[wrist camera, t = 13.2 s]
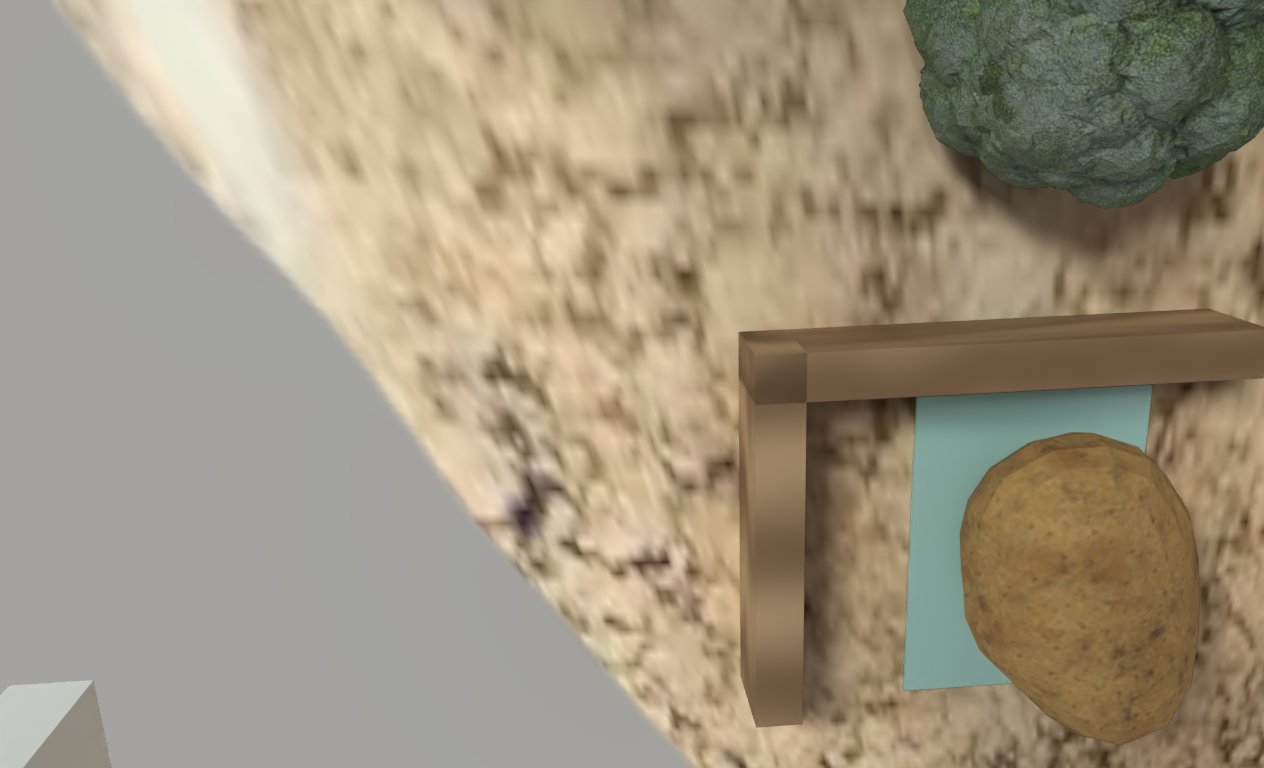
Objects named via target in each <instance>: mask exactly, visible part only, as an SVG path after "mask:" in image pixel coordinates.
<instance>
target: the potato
mask: <svg viewBox="0 0 1264 768" xmlns="http://www.w3.org/2000/svg"><path fill="white" fill-rule="evenodd" d="M960 562H961V574H962V583H963V592H964V610H965V618H966V621H967V623H968V625H969V628H970V630H971V632H972V635H973V637H974V639H975V642H976V644H977V646H978V648H979V651H980V652H981V653H982V654H983V655H984V656H985V657H986V658H987V659H988V660H989V661H991V662H992V663H993V664H994V665H995V666H996V667H997V668H998V669H999V670H1000V671H1001V672H1002V673H1003V674H1004V675H1005V676H1006V677H1007V678H1008V679H1009V680H1011V681H1012V682H1013V683H1014V684H1015V685H1016V686H1017V687H1018V688H1019V689H1020V690H1021V691H1022V692H1023V693H1024V694H1025V695H1026V696H1027V697H1028V698H1029V699H1030V700H1031V701H1032V702H1034V703H1035V704H1036V705H1037V706H1038V707H1039V708H1040V709H1041V710H1042V711H1043V712H1044V713H1045V714H1046V715H1047V716H1049V717H1051V718H1052V719H1054V720H1055V721H1057V722H1058V723H1060V724H1061V725H1063V726H1065V727H1066V728H1068V729H1069V730H1071V731H1072V732H1074V733H1075V734H1077V735H1080V736H1084V737H1088V738H1092V739H1097V740H1101V741H1105V742H1109V743H1114V744H1118V745H1123V744H1126V743H1128V742H1130V741H1133V740H1135V739H1137V738H1140V737H1142V736H1144V735H1147V734H1149V733H1152V732H1154V731H1156V730H1159V729H1161V728H1163V727H1166V726H1167V725H1168V723H1169V722H1170V720H1171V718H1172V716H1173V715H1174V713H1175V711H1176V710H1177V708H1178V706H1179V704H1180V703H1181V701H1182V699H1183V698H1184V696H1185V694H1186V693H1187V691H1188V689H1189V687H1190V686H1191V681H1192V676H1193V669H1194V662H1195V655H1196V649H1197V642H1198V632H1199V609H1200V587H1199V561H1198V553H1197V548H1196V543H1195V538H1194V532H1193V527H1192V523H1191V520H1190V517H1189V514H1188V511H1187V508H1186V506H1185V505H1184V503H1183V502H1182V500H1181V498H1180V497H1179V495H1178V494H1177V492H1176V490H1175V489H1174V487H1173V485H1172V484H1171V482H1170V481H1169V479H1168V477H1167V476H1166V475H1165V473H1164V472H1163V471H1162V470H1161V469H1160V468H1159V467H1158V466H1157V465H1156V464H1155V463H1154V462H1153V461H1152V460H1151V459H1150V458H1149V457H1148V456H1147V455H1146V454H1145V453H1144V452H1143V451H1142V450H1141V449H1140V448H1139V447H1137V446H1134V445H1131V444H1128V443H1125V442H1121V441H1118V440H1115V439H1112V438H1109V437H1105V436H1102V435H1099V434H1096V433H1084V432H1070V433H1066V434H1062V435H1058V436H1054V437H1050V438H1046V439H1041V440H1036V441H1033V442H1030V443H1027V444H1026V445H1024V446H1023V447H1021V448H1020V449H1018V450H1016V451H1015V452H1013V453H1012V454H1010V455H1009V456H1007V457H1006V458H1004V459H1003V460H1001V461H1000V462H998V463H997V464H995V465H994V466H992V467H990V468H989V470H988V471H987V472H986V474H985V475H984V477H983V478H982V480H981V481H980V483H979V484H978V485H977V487H976V488H975V490H974V491H973V493H972V494H971V496H970V497H969V498H968V501H967V505H966V509H965V513H964V517H963V521H962V525H961V529H960Z"/></svg>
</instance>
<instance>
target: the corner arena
mask: <svg viewBox="0 0 1264 768" xmlns="http://www.w3.org/2000/svg"><path fill="white" fill-rule="evenodd" d="M1257 378H1264V327H1262V326H1259V325H1256V324H1253V323H1250V322H1247V321H1244V320H1241V319H1238V318H1235V317H1232V316H1229V315H1226V314H1223V313H1220V312H1217V311H1213V310H1210V309H1195V310H1175V311H1155V312H1135V313H1114V314H1094V315H1074V316H1054V317H1034V318H1013V319H993V320H973V321H953V322H933V323H912V324H892V325H872V326H852V327H832V328H812V329H791V330H771V331H751V332H739V469H740V625H741V678H742V682H743V685H744V688H745V691H746V695H747V698H748V701H749V705H750V708H751V711H752V715H753V718H754V721H755V724H756V727H770V726H785V725H799V724H802V721H803V644H804V567H805V490H806V413H807V402H826V401H844V400H863V399H882V398H901V397H919V396H938V395H957V394H976V393H994V392H1013V391H1032V390H1051V389H1069V388H1088V387H1107V386H1126V385H1144V384H1163V383H1182V382H1201V381H1219V380H1238V379H1257Z"/></svg>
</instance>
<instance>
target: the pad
mask: <svg viewBox="0 0 1264 768" xmlns="http://www.w3.org/2000/svg"><path fill="white" fill-rule="evenodd" d="M1151 394H1152V384H1144V385H1126V386H1107V387H1088V388H1069V389H1051V390H1032V391H1013V392H994V393H976V394H957V395H938V396H919V397H916V402H915V425H914V447H913V470H912V492H911V515H910V538H909V560H908V583H907V606H906V628H905V651H904V673H903V690H904V691H908V690H922V689H937V688H951V687H966V686H981V685H995V684H1010V683H1013V682H1012V681H1011V680H1009V679H1008V678H1007V677H1006V676H1005V675H1004V674H1003V673H1002V672H1001V671H1000V670H999V669H998V668H997V667H996V666H995V665H994V664H993V663H992V662H991V661H989V660H988V659H987V658H986V657H985V656H984V655H983V654H982V653H981V652H980V651H979V648H978V646H977V644H976V642H975V639H974V637H973V635H972V632H971V630H970V628H969V625H968V623H967V621H966V618H965V610H964V592H963V583H962V574H961V562H960V529H961V525H962V521H963V517H964V513H965V509H966V505H967V501H968V498H969V497H970V496H971V494H972V493H973V491H974V490H975V488H976V487H977V485H978V484H979V483H980V481H981V480H982V478H983V477H984V475H985V474H986V472H987V471H988V470H989V468H990V467H992V466H994V465H995V464H997V463H998V462H1000V461H1001V460H1003V459H1004V458H1006V457H1007V456H1009V455H1010V454H1012V453H1013V452H1015V451H1016V450H1018V449H1020V448H1021V447H1023V446H1024V445H1026V444H1027V443H1030V442H1033V441H1036V440H1041V439H1046V438H1050V437H1054V436H1058V435H1062V434H1066V433H1070V432H1084V433H1096V434H1099V435H1102V436H1105V437H1109V438H1112V439H1115V440H1118V441H1121V442H1125V443H1128V444H1131V445H1134V446H1137V447H1139V448H1140V449H1141V450H1142V451H1143V452H1144V453H1145V448H1146V439H1147V430H1148V421H1149V412H1150V403H1151Z"/></svg>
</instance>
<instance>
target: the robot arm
mask: <svg viewBox="0 0 1264 768" xmlns="http://www.w3.org/2000/svg"><path fill="white" fill-rule="evenodd" d="M0 768H112V767H111V763H110V758H109V753H108V748H107V743H106V738H105V734H104V729H103V724H102V720H101V714H100V710H99V705H98V700H97V695H96V691H95V686H94V681H93V680H90V681H76V682H75V681H74V682H59V683H44V684H29V685H13V686H9V687H8V688H7V689H6V690H5V691H4V692H3V693H2V694H1V695H0Z"/></svg>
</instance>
